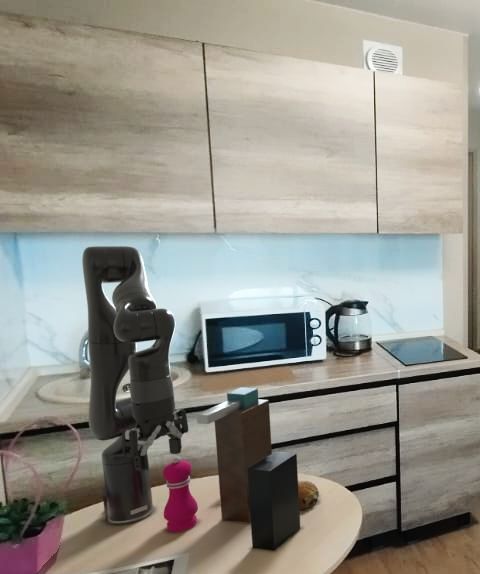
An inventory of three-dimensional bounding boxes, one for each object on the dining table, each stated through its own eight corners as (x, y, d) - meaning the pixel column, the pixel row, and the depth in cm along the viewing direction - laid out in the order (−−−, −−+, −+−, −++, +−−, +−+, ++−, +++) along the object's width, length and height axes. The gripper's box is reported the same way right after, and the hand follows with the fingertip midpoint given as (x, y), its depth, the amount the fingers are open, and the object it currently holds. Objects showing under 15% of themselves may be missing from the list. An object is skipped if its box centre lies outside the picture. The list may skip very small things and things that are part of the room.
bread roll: (313, 503, 175) (306, 477, 176) (327, 500, 169) (320, 474, 170) (277, 516, 167) (271, 490, 168) (291, 514, 161) (284, 486, 162)
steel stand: (252, 548, 147) (247, 468, 144) (279, 526, 157) (275, 451, 153) (274, 550, 147) (269, 471, 143) (300, 528, 157) (296, 453, 153)
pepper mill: (180, 535, 151) (174, 464, 148) (157, 531, 152) (151, 460, 149) (205, 520, 158) (200, 452, 155) (184, 516, 159) (178, 449, 156)
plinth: (221, 520, 158) (213, 410, 153) (249, 501, 168) (242, 397, 163) (248, 523, 158) (241, 413, 152) (274, 503, 168) (268, 400, 162)
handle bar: (193, 423, 145) (192, 408, 144) (241, 400, 161) (241, 387, 160) (211, 424, 145) (210, 409, 144) (258, 402, 160) (257, 388, 160)
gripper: (165, 384, 139) (171, 447, 141) (106, 405, 125) (114, 475, 127) (194, 386, 138) (200, 449, 141) (138, 407, 124) (146, 477, 127)
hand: (159, 461), depth 134 cm, fingers open, 8 cm apart
